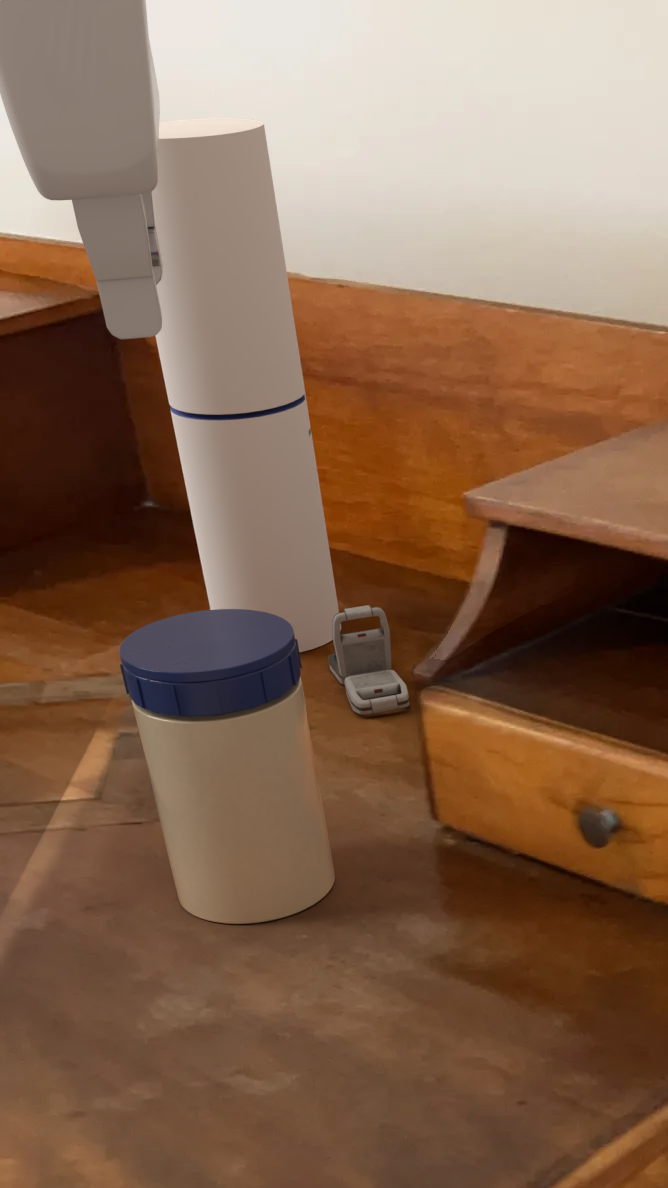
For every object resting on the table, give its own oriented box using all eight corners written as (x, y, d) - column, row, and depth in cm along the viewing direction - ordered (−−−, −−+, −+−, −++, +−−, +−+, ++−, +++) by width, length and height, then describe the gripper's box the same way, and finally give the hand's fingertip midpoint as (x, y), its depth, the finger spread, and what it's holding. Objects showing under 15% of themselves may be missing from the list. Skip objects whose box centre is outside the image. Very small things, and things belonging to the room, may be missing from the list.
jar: (165, 928, 72) (106, 689, 66) (192, 853, 77) (140, 625, 71) (326, 920, 72) (283, 680, 66) (342, 845, 78) (304, 616, 71)
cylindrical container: (195, 652, 97) (87, 138, 81) (248, 607, 102) (156, 118, 87) (312, 660, 95) (225, 138, 80) (359, 614, 101) (287, 117, 85)
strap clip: (414, 711, 89) (404, 631, 87) (357, 720, 89) (345, 640, 86) (379, 655, 96) (368, 578, 93) (325, 663, 95) (313, 586, 92)
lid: (113, 721, 66) (102, 677, 65) (146, 655, 72) (136, 613, 71) (290, 712, 66) (282, 667, 65) (310, 647, 72) (303, 604, 71)
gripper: (-40, -185, 59) (61, 260, 68) (-115, -198, 44) (29, 383, 52) (145, -192, 60) (222, 248, 69) (137, -208, 45) (238, 364, 53)
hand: (139, 307), depth 61 cm, fingers open, 7 cm apart
